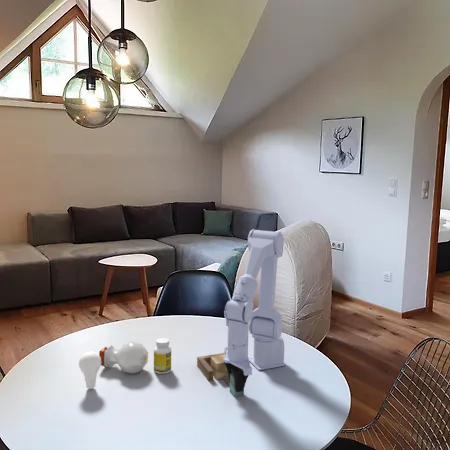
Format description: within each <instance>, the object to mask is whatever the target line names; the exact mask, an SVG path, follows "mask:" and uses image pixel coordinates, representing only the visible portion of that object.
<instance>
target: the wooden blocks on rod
mask: <svg viewBox="0 0 450 450" xmlns="http://www.w3.org/2000/svg"><path fill="white" fill-rule="evenodd" d="M223 358H226V355H220V356H214V357H211V366H210V367H211V368H212V370H213V378H214V379H216V380H222V379H224V381H225V382H226V383H227V384H228V386H229V393H230V394H231V395H232V397H234V398H235V397H240V396H241V397H242V396H244V395H245V389H244V390H243V391H241V392H236V390H235V384H234V377H233V374H232V373H231V374H230V380H229V375H228V371H227V369H226V366H225V364H224V361H223Z"/></svg>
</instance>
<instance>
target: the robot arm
mask: <svg viewBox="0 0 450 450" xmlns="http://www.w3.org/2000/svg"><path fill="white" fill-rule="evenodd" d="M284 239H285V238H284V235H283V233H282V232H281V231H271V230H262V229H261V230H260V229H255V228H253V229H251V230H250V231H249V233H248V236H247V247H248V251H249V254H248V258H247V261H246V266H245V271H244V274H243V275H241V276H240V277H239V278H238V280H237V283H236V286H235V288H234V292H233V295H232V298H231V299H230V300H228V301H227V302H226V304H225V306H224V311H223V314H224V319H225V325H226V326H227V346H226V347H224V349H223V351H224V352H223V353H224V354H225V355H226V358H223V361H224V364H225V366H226V369H227V371H228V375H229V377H228V380H229V381H230V374H231V373H232V374H233V377H234V384H235V390H236V392H241V391H243V390H244V391H245V386H246V383H247V380H248V378H249V376H253V375H252V374H253V368H252V366H251V364H252V365H253V366H254V368H256V369H257V370H258V371H263V370H268V369H273V368H274V369H275V368H279V367H284V366H285V365H286V364H285V341H284V339H283V337H282V334H283V327H284V324H283V315H282V313H280V311H278V310H277V309H276V307H275V299H276V298H275V297H276V296H275V295H276V285H277V284H276V283H277V268H278V259H279V258H281V257H283V254H284V245H285V243H284V242H285V240H284ZM259 273H260V280H259V281H260V284H259V283H258V281H257V278H258V275H259ZM258 286H259V298H258V307H257V308H254V304H255V303H254V302H253V301H254V298H255V295H256V292H257V289H258ZM249 334H250V335H251V337H252V338H253V357H251V358H249Z"/></svg>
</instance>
